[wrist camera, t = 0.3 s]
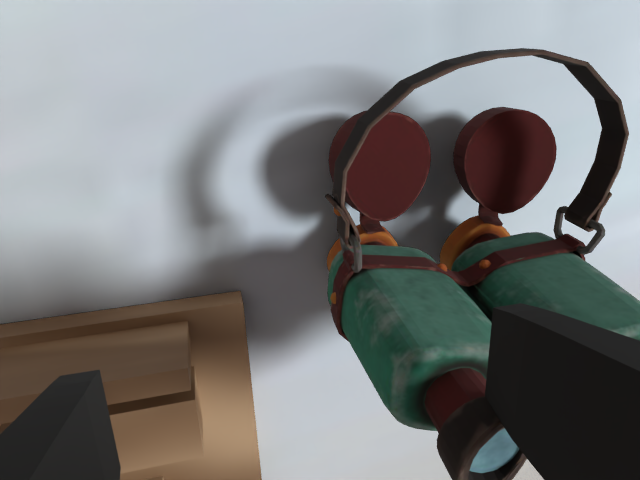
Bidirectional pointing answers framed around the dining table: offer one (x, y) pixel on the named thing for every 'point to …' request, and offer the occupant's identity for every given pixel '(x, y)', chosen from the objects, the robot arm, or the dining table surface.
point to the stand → (150, 382)
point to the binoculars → (463, 259)
